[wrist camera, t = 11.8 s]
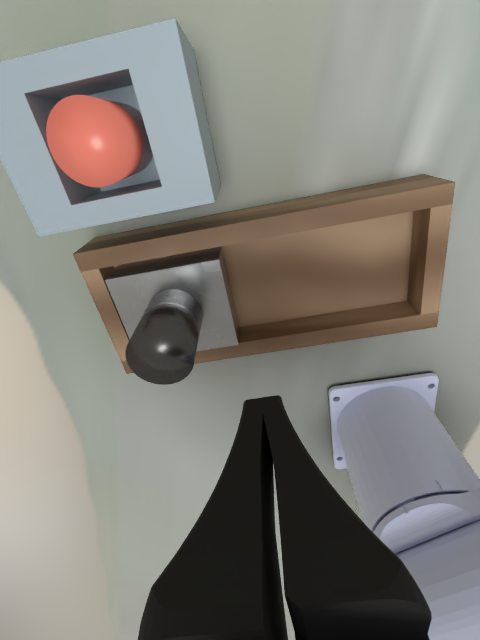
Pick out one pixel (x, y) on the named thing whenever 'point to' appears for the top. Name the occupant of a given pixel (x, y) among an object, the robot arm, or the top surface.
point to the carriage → (174, 311)
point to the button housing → (120, 86)
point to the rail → (305, 265)
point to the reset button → (97, 140)
